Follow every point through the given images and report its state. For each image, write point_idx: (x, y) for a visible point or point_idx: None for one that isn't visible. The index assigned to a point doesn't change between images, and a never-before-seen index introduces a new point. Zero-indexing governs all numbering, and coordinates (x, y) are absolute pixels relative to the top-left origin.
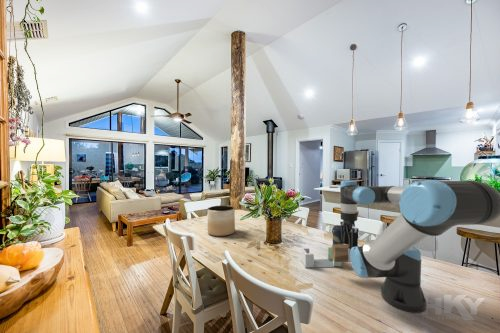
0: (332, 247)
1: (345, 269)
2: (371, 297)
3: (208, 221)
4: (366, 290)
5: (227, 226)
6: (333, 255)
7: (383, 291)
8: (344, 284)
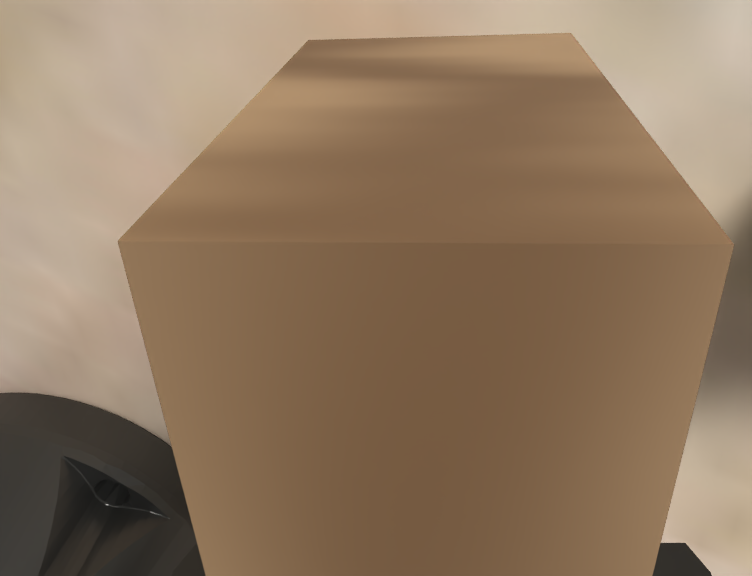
0: (624, 165)
1: None
2: (29, 299)
3: None
4: None
5: None
6: (450, 69)
7: (2, 448)
8: (247, 90)
